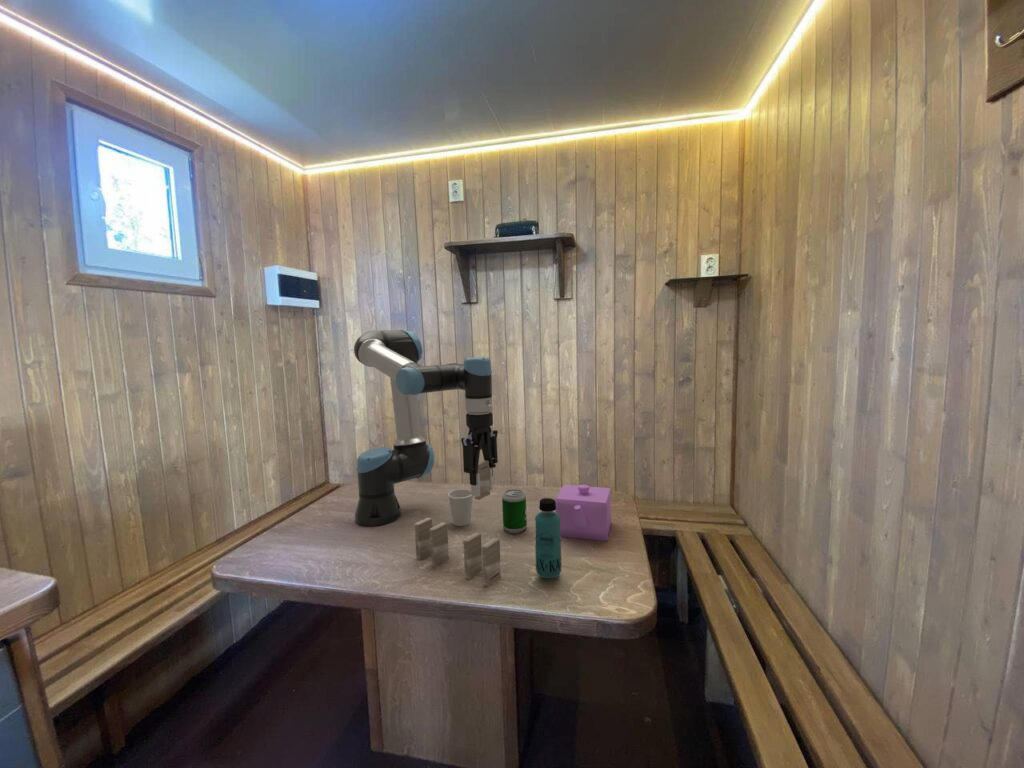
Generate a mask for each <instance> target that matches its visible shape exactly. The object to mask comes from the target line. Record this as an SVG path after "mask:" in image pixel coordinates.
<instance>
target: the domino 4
mask: <svg viewBox="0 0 1024 768" xmlns="http://www.w3.org/2000/svg"><path fill="white" fill-rule="evenodd" d="M477 473H480V496H479V497H478V496H474V500H479V501H480V500H481V499H483V498H485V497H488V496H490V495H491V490H490V480H489V461H487V460H484V459H483V460H481V461H479V463H478V471H477Z"/></svg>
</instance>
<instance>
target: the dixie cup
mask: <svg viewBox="0 0 1024 768" xmlns="http://www.w3.org/2000/svg"><path fill="white" fill-rule="evenodd" d="M447 496H448V500H449V505H450V513H451V517H452V521H453V523H452V524H453V525H454V526H457V527H464V526H468V525H469V524H471V522H472V520H471V519H472V511H473V509H472V508H473V498H474V497H473V496H474V495H471V489H468V488H459V489H453V490H451V491H450V492H448V494H447Z"/></svg>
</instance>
